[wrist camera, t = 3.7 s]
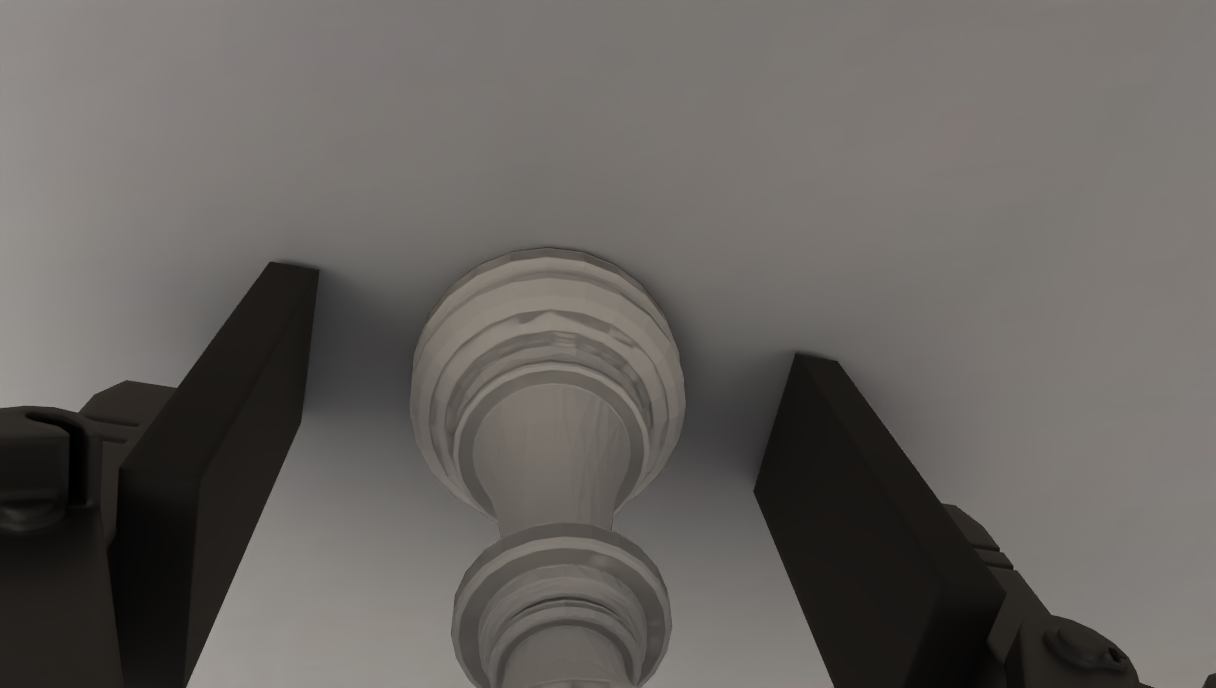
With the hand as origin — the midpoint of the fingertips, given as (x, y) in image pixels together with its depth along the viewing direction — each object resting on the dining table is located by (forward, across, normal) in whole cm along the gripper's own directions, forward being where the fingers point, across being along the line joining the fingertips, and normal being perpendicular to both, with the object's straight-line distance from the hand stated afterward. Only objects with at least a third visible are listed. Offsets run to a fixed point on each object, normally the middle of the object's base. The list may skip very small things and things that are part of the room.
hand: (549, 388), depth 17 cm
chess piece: (0, 0, 0) cm, 0 cm away
